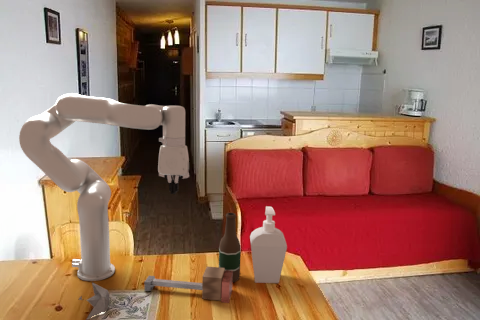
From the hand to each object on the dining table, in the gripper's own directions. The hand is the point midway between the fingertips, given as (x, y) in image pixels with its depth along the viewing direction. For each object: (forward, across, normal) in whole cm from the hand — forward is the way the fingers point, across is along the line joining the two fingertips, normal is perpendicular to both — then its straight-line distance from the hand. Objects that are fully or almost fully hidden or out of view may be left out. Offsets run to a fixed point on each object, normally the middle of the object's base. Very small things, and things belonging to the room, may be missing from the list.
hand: (173, 192), depth 141 cm
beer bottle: (+29, +21, -3) cm, 36 cm away
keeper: (+29, +18, -15) cm, 37 cm away
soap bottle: (+29, +34, 0) cm, 45 cm away
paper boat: (+29, -16, -29) cm, 44 cm away
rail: (+29, +9, -15) cm, 34 cm away
